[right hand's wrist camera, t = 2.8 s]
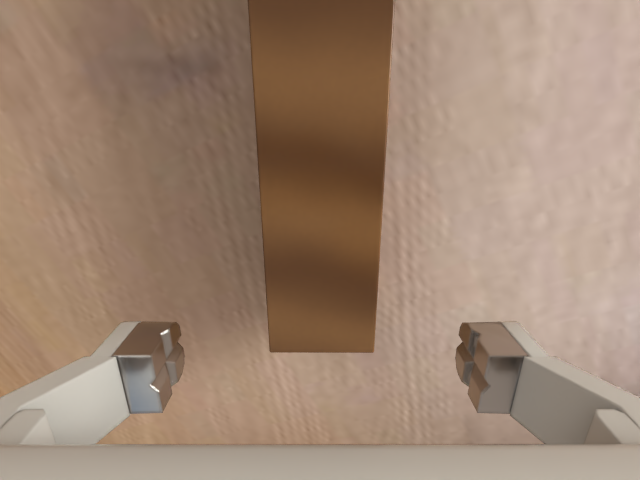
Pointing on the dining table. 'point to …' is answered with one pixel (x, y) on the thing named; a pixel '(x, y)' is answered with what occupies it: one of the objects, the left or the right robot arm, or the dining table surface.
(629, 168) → the dining table surface
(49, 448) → the right robot arm
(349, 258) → the post
